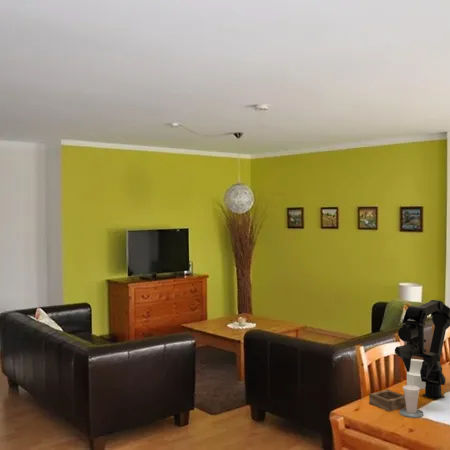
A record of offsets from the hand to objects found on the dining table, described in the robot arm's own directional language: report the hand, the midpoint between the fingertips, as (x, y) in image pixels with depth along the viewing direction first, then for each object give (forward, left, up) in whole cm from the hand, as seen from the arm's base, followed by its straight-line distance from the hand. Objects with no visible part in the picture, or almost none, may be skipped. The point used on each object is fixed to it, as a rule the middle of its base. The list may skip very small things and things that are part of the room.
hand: (417, 374), depth 223 cm
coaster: (+10, +5, -13) cm, 17 cm away
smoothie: (+10, +5, -12) cm, 17 cm away
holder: (+10, -7, -13) cm, 17 cm away
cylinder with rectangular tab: (-20, -18, -13) cm, 30 cm away
